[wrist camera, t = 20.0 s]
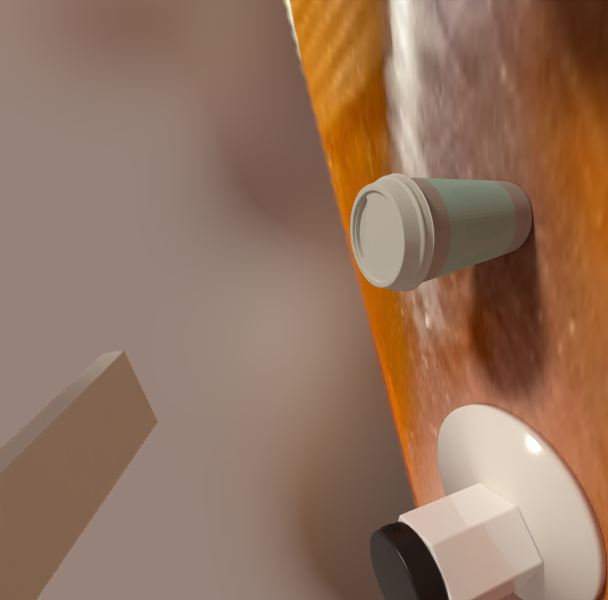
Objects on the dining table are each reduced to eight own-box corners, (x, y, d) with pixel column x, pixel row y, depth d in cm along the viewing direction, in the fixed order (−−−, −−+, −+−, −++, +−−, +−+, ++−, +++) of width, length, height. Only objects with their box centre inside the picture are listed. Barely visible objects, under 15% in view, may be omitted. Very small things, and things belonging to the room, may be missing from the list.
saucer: (426, 404, 49) (419, 406, 49) (556, 401, 33) (546, 404, 32) (475, 567, 46) (468, 570, 46) (645, 656, 30) (635, 662, 29)
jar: (485, 466, 40) (376, 510, 36) (555, 550, 34) (433, 614, 30) (461, 516, 45) (363, 559, 41) (519, 597, 39) (410, 657, 35)
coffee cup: (505, 139, 33) (370, 148, 29) (572, 222, 29) (426, 246, 25) (451, 214, 40) (337, 231, 36) (499, 289, 36) (377, 316, 32)
